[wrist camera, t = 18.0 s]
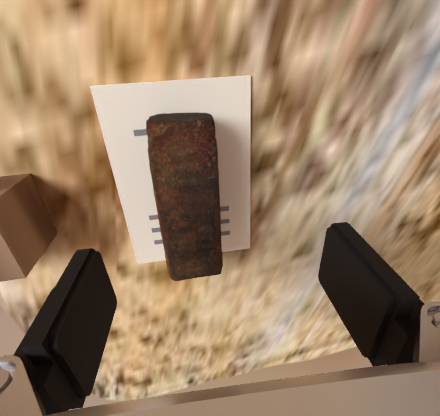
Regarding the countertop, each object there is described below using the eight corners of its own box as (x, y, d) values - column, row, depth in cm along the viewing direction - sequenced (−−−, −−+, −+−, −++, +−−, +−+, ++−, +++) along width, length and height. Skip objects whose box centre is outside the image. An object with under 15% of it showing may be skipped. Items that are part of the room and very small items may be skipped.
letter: (249, 75, 17) (250, 75, 17) (249, 246, 24) (250, 248, 24) (90, 85, 16) (89, 85, 16) (137, 262, 23) (137, 264, 23)
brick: (216, 239, 23) (225, 276, 18) (169, 244, 22) (168, 284, 18) (209, 108, 18) (219, 121, 13) (148, 112, 17) (140, 126, 13)
